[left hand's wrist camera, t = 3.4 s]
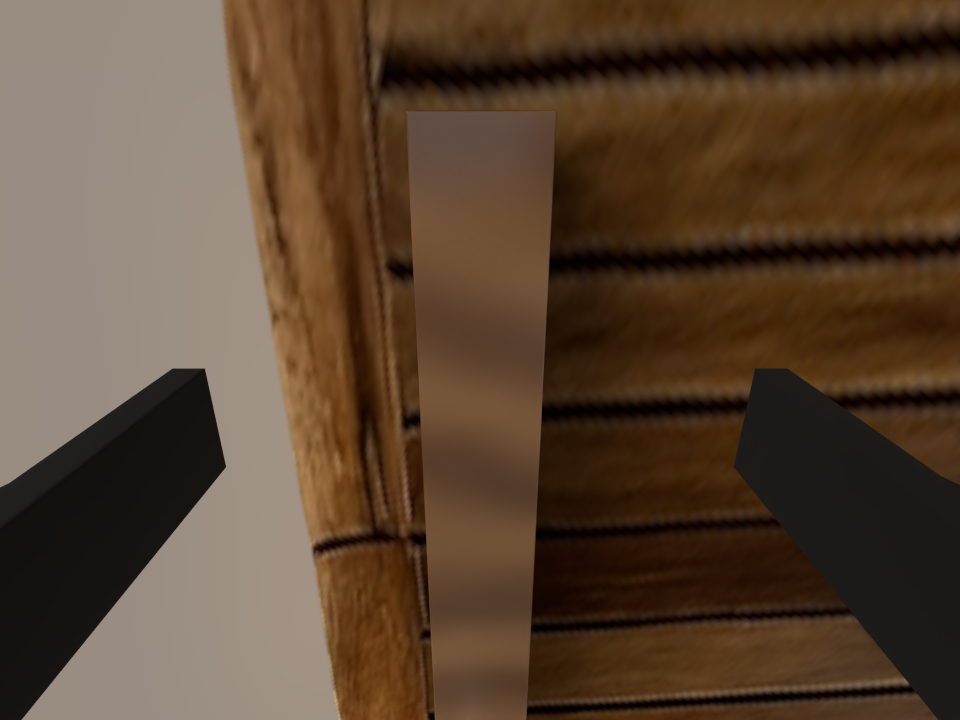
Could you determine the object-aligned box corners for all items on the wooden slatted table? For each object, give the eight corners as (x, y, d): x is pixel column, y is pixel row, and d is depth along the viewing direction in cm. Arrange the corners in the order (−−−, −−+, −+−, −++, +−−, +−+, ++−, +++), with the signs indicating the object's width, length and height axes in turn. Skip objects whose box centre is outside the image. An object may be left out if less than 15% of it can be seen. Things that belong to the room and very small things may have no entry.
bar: (427, 123, 24) (405, 110, 17) (534, 122, 24) (557, 110, 17) (454, 911, 50) (450, 1037, 43) (506, 911, 50) (510, 1037, 43)
